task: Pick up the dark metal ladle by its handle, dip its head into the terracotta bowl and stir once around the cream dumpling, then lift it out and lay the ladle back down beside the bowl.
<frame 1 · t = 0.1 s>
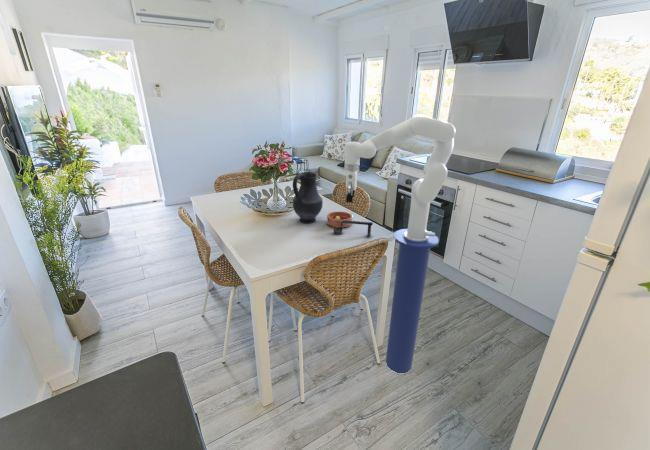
hand: (350, 199, 165), 19 cm above the table, tool pointing down, fingers open, 9 cm apart
ladle: (337, 232, 172), on the table
pitcher: (306, 221, 188), on the table
bowl: (339, 223, 185), on the table
dumpling: (337, 218, 187), point 2 cm above the table, touching bowl
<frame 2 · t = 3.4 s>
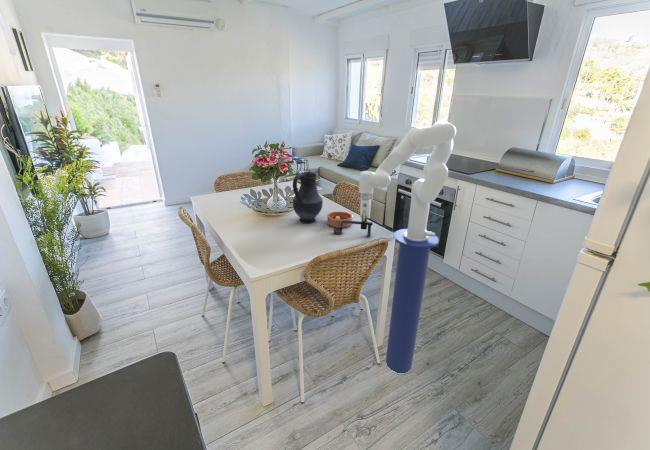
hand: (363, 228, 168), 4 cm above the table, tool pointing down, fingers closed on ladle
ladle: (337, 232, 172), on the table, touching gripper
everything else where it was.
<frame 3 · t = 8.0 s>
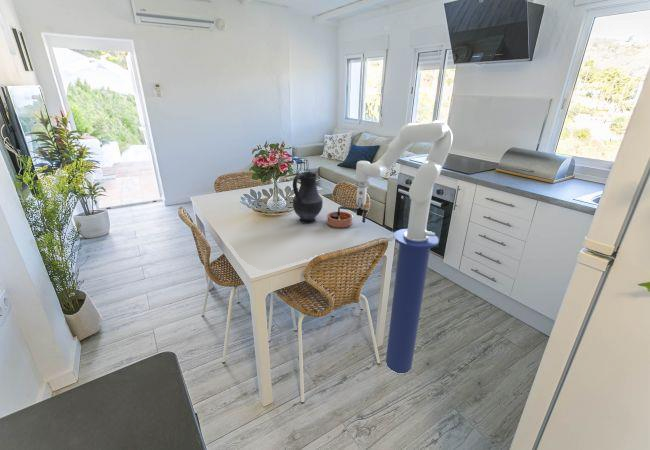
hand: (359, 214, 180), 7 cm above the table, tool pointing down, fingers closed on ladle
ladle: (334, 218, 184), point 3 cm above the table, touching dumpling, gripper
dumpling: (337, 218, 187), point 2 cm above the table, tilted 10°, touching bowl, ladle
everything else where it was.
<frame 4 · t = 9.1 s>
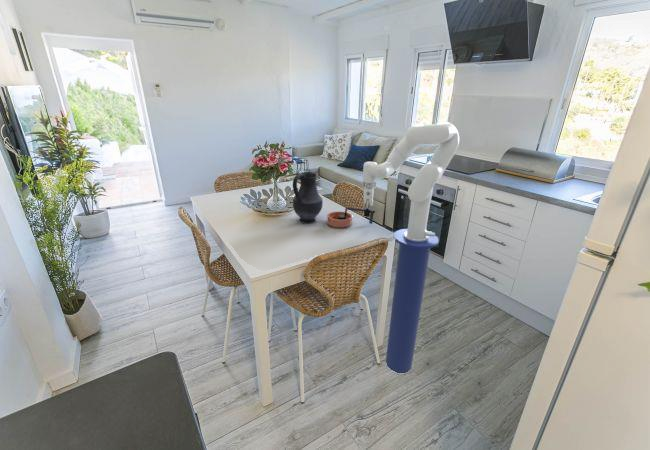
hand: (366, 215, 181), 6 cm above the table, tool pointing down, fingers closed on ladle
ladle: (341, 218, 184), point 3 cm above the table, touching dumpling, gripper
dumpling: (340, 218, 187), point 2 cm above the table, tilted 48°, touching bowl, ladle
everything else where it was.
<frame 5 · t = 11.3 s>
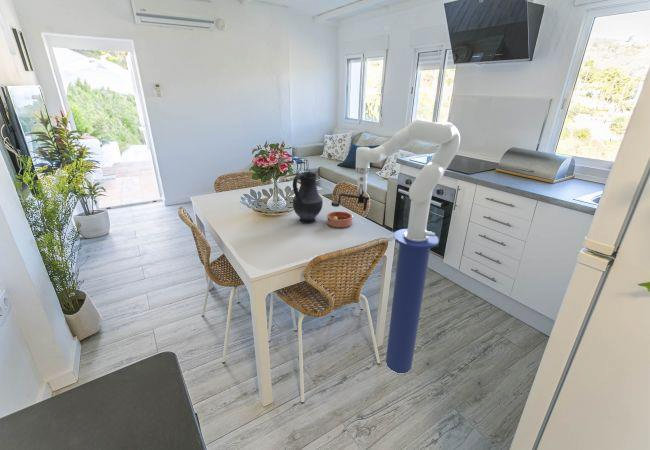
hand: (360, 202, 178), 14 cm above the table, tool pointing down, fingers closed on ladle
ladle: (335, 205, 181), point 11 cm above the table, touching gripper
dumpling: (335, 219, 186), point 2 cm above the table, tilted 81°, touching bowl
everything else where it was.
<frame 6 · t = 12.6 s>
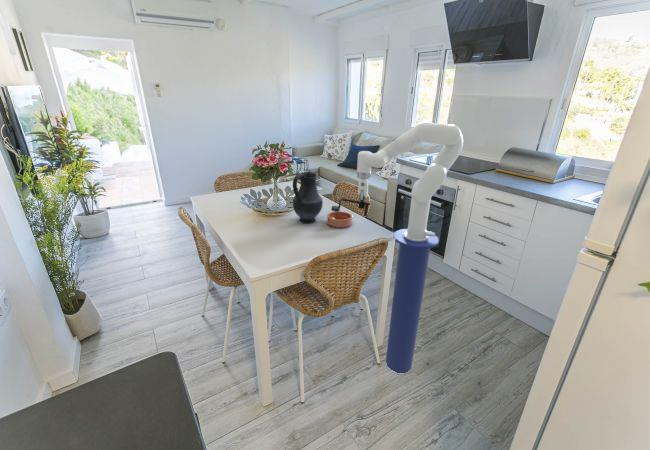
hand: (361, 207, 174), 13 cm above the table, tool pointing down, fingers closed on ladle
ladle: (335, 210, 177), point 10 cm above the table, tilted 5°, touching gripper
dumpling: (332, 219, 185), point 2 cm above the table, tilted 166°, touching bowl
everything else where it was.
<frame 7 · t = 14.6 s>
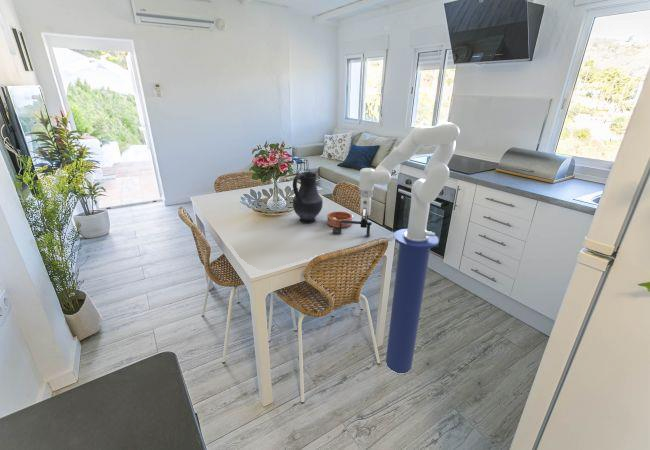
hand: (363, 224, 168), 6 cm above the table, tool pointing down, fingers open, 6 cm apart
ladle: (336, 232, 172), on the table
dumpling: (333, 220, 185), point 2 cm above the table, tilted 140°, touching bowl
everything else where it was.
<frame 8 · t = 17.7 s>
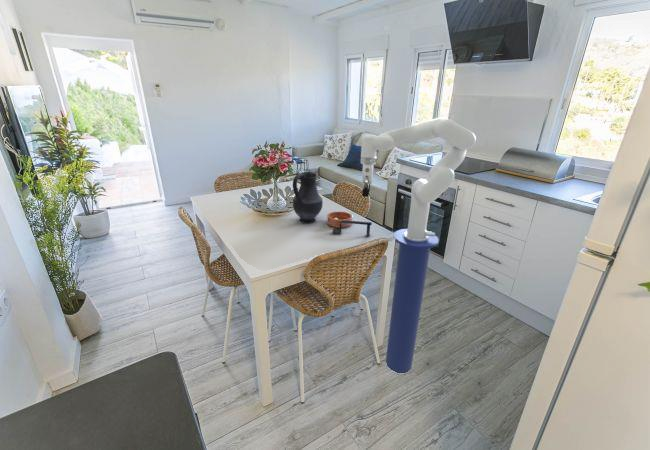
hand: (366, 193, 161), 23 cm above the table, tool pointing down, fingers open, 9 cm apart
dumpling: (335, 220, 184), point 2 cm above the table, tilted 98°, touching bowl
everything else where it was.
at the end: ladle inside the target area (0.5 cm from its centre), on the table; the gripper is holding nothing; dumpling inside the target area in the bowl (2.1 cm from its centre), point 2.1 cm above the bowl's base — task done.
